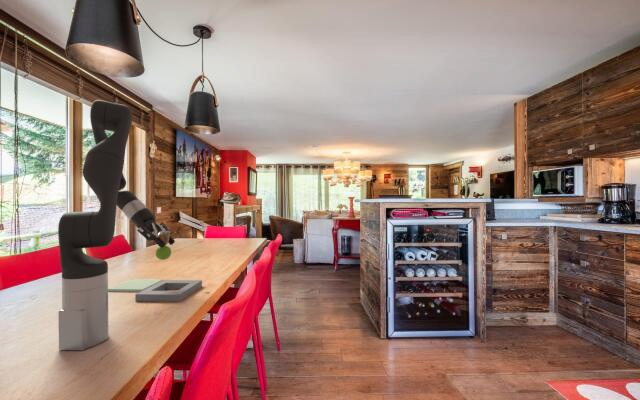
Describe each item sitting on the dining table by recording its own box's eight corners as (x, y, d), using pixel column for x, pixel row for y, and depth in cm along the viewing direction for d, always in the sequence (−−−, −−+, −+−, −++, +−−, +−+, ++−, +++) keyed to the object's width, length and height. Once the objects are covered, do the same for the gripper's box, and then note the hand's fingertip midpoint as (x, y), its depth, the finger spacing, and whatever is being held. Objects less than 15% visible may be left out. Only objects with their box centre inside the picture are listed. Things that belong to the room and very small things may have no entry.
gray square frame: (179, 301, 104) (179, 294, 104) (135, 301, 105) (135, 294, 105) (202, 286, 122) (202, 280, 122) (164, 285, 123) (164, 279, 123)
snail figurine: (175, 257, 118) (175, 227, 118) (165, 261, 112) (165, 229, 112) (163, 257, 119) (163, 227, 119) (152, 260, 112) (152, 229, 112)
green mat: (142, 291, 115) (142, 289, 115) (107, 291, 116) (107, 289, 116) (163, 281, 129) (163, 279, 129) (132, 281, 130) (131, 279, 130)
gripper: (132, 208, 108) (164, 241, 108) (156, 206, 122) (184, 235, 122) (119, 222, 109) (150, 255, 108) (144, 219, 123) (172, 248, 123)
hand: (168, 244), depth 115 cm, fingers closed on snail figurine, 6 cm apart
